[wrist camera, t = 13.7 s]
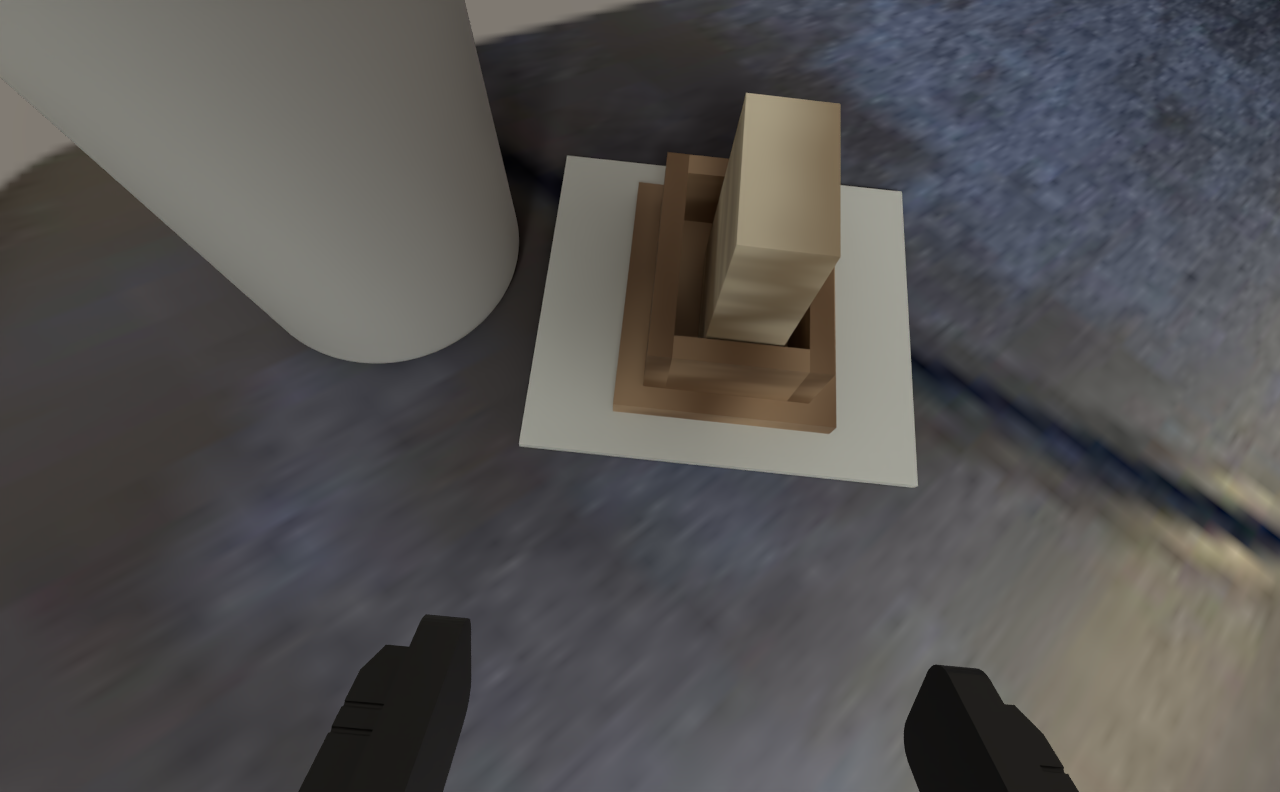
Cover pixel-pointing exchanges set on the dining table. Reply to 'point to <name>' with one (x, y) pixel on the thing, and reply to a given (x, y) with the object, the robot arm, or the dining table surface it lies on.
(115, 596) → the dining table surface
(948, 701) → the robot arm
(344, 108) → the cylinder vase
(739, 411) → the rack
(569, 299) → the mat
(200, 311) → the dining table surface
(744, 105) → the beech block
